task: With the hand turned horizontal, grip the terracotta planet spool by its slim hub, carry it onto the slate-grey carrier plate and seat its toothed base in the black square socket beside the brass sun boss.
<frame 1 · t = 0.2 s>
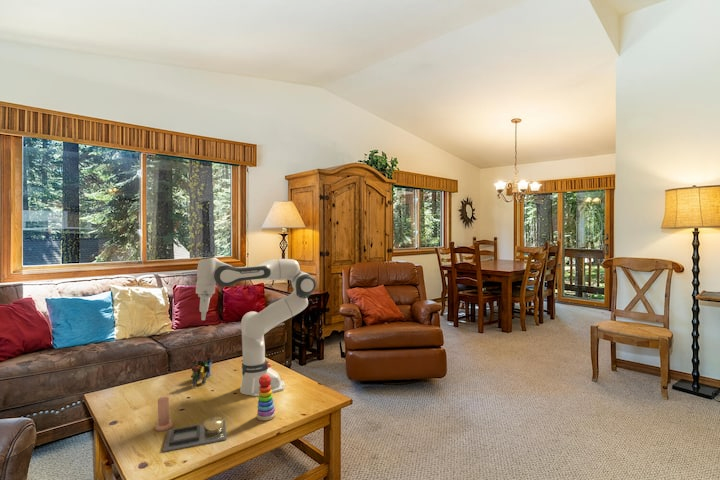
hand: (203, 318, 189), 39 cm above the table, tool pointing down, fingers open, 8 cm apart
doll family: (203, 381, 210), on the table
carrier plate: (196, 436, 154), on the table
stacking toy: (266, 417, 169), on the table
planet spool: (163, 427, 161), on the table
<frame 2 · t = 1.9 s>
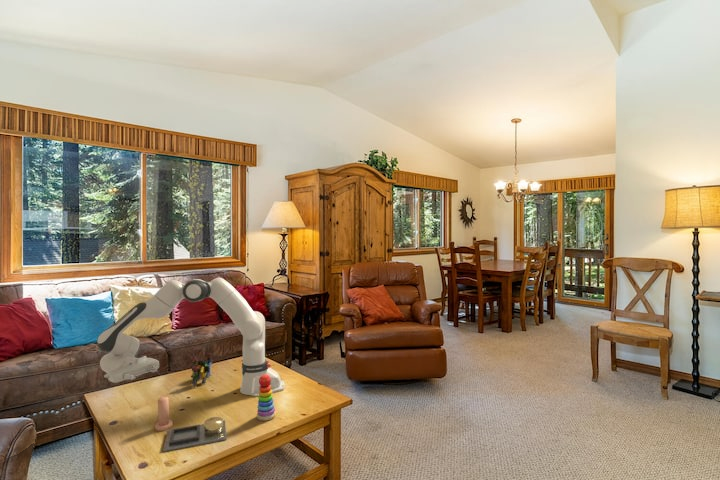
hand: (145, 373, 167), 20 cm above the table, tool horizontal, fingers open, 8 cm apart
nothing on the table moved.
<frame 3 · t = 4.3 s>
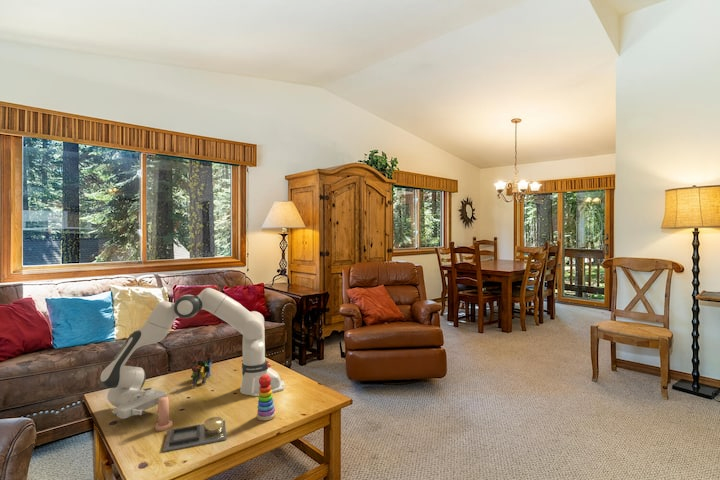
hand: (153, 408, 165), 6 cm above the table, tool horizontal, fingers open, 8 cm apart
nothing on the table moved.
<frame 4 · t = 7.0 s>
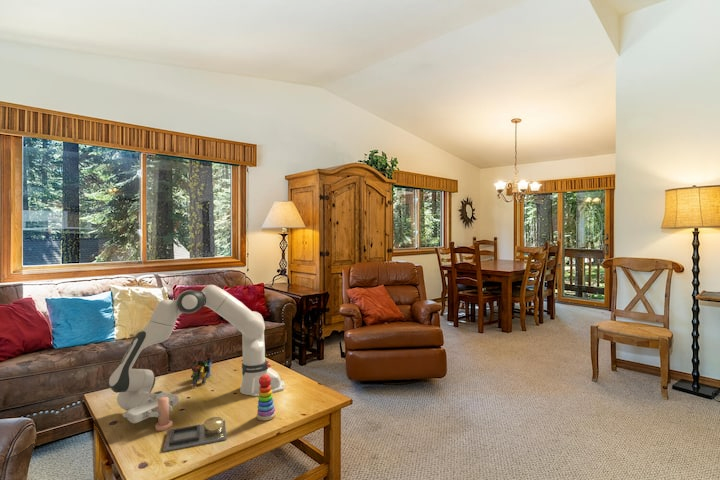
hand: (164, 412, 161), 7 cm above the table, tool horizontal, fingers closed on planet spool, 4 cm apart
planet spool: (163, 427, 161), on the table, touching gripper
everything else where it was.
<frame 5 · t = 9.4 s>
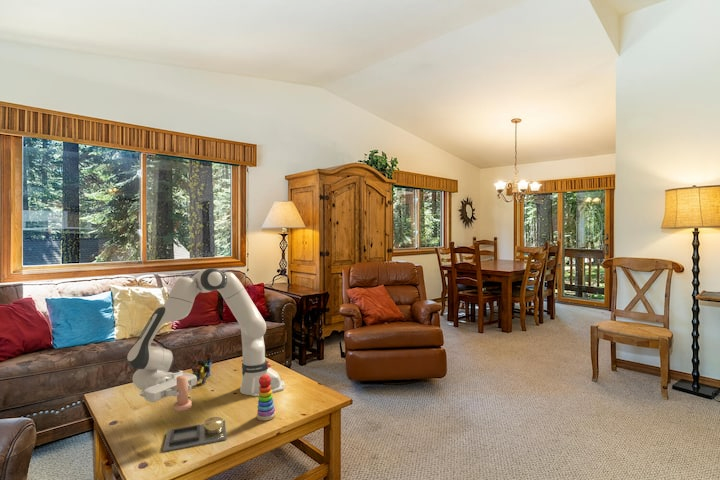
hand: (183, 391, 152), 19 cm above the table, tool horizontal, fingers closed on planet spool, 4 cm apart
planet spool: (182, 407, 152), point 12 cm above the table, touching gripper
everything else where it was.
when the fingers open (10 cm above the table, at t = 12.1 s): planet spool drops 2 cm, resting on carrier plate.
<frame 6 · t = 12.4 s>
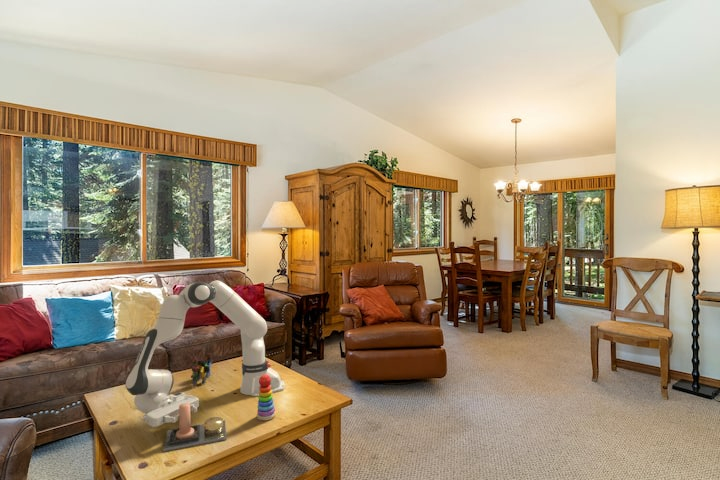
hand: (186, 415, 151), 10 cm above the table, tool horizontal, fingers open, 7 cm apart
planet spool: (185, 435, 152), point 1 cm above the table, touching carrier plate
everything else where it was.
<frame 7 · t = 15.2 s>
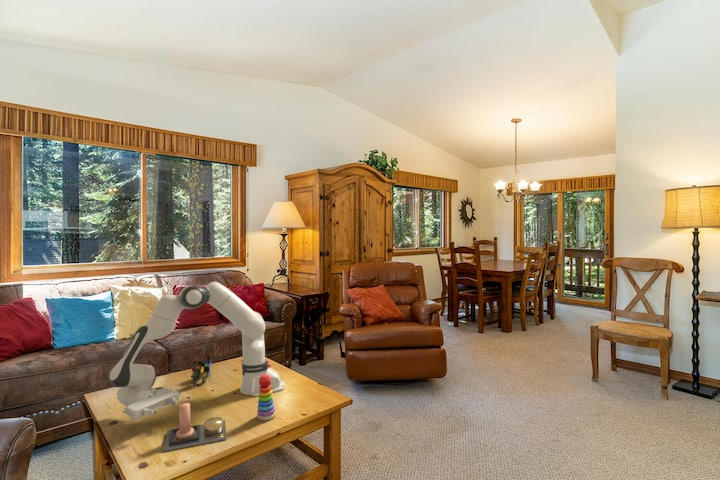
hand: (165, 407, 158), 10 cm above the table, tool horizontal, fingers open, 8 cm apart
nothing on the table moved.
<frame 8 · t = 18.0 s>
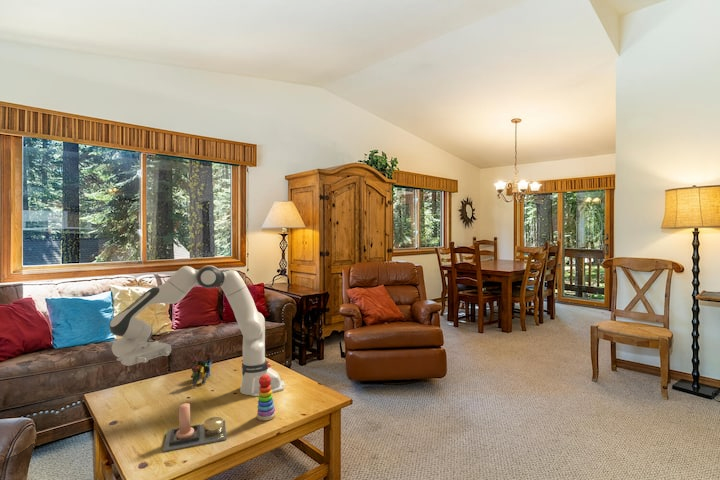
hand: (157, 356, 165), 28 cm above the table, tool horizontal, fingers open, 8 cm apart
nothing on the table moved.
at the end: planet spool 0.0 cm from the target spot on the carrier plate, point 1.3 cm above the carrier plate's base; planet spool tilted 1°; the gripper is holding nothing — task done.
